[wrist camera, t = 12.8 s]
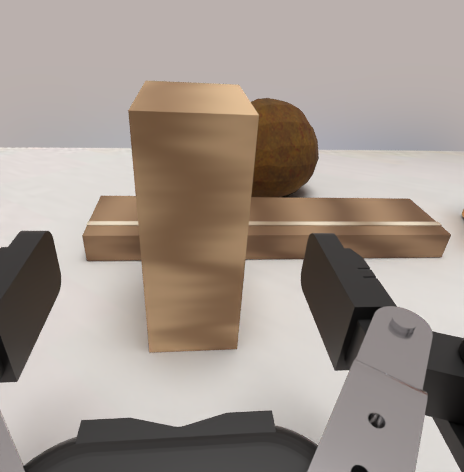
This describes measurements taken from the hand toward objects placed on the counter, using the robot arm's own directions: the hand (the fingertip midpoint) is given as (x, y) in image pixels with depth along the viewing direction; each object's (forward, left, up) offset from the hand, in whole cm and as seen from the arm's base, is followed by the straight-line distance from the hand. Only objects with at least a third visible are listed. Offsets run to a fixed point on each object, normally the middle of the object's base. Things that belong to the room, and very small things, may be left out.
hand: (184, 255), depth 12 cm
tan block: (0, -9, -8) cm, 13 cm away
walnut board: (-6, -15, -8) cm, 18 cm away
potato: (-6, -23, -9) cm, 25 cm away
